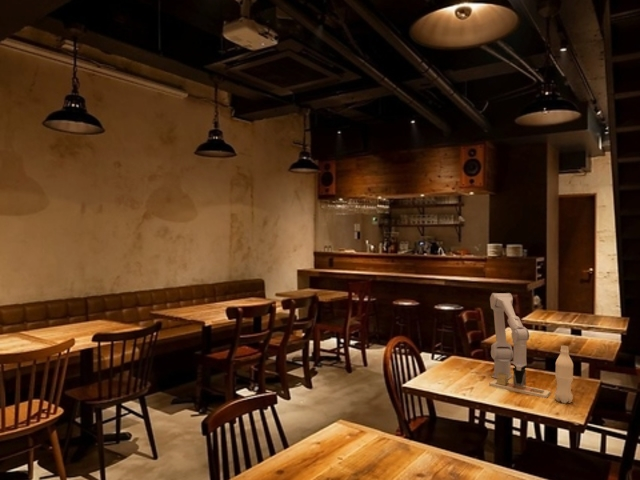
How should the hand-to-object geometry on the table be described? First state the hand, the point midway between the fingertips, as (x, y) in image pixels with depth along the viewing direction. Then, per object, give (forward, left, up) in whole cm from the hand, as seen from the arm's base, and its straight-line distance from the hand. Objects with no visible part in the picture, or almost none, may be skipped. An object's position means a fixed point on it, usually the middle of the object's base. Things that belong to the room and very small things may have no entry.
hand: (519, 381), depth 221 cm
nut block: (0, 0, -1) cm, 1 cm away
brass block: (0, -8, -4) cm, 9 cm away
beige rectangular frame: (0, 0, -4) cm, 4 cm away
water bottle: (+3, +20, -4) cm, 21 cm away
